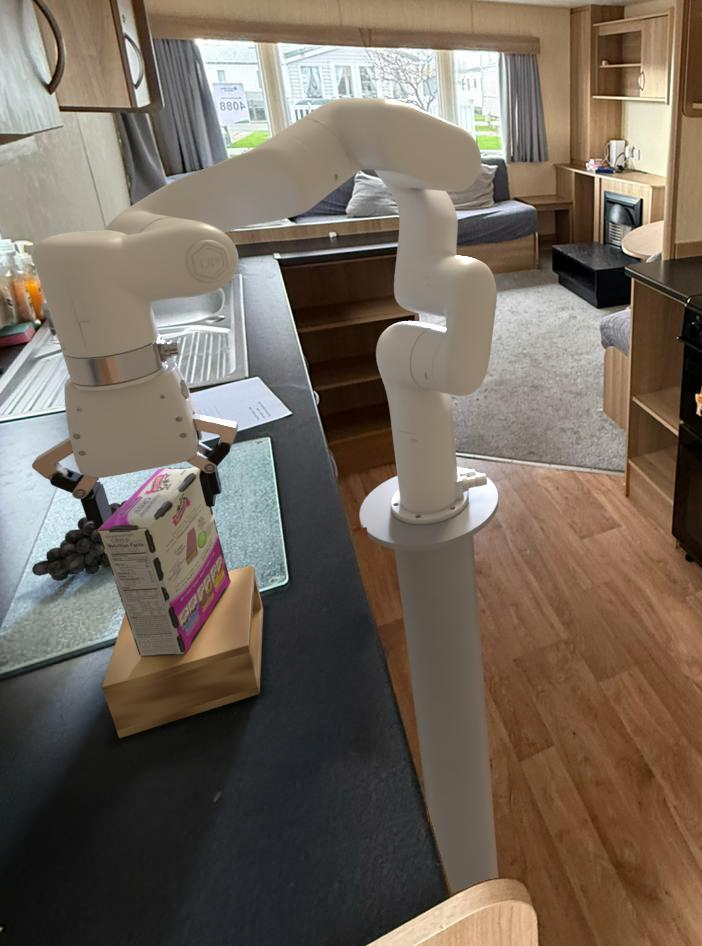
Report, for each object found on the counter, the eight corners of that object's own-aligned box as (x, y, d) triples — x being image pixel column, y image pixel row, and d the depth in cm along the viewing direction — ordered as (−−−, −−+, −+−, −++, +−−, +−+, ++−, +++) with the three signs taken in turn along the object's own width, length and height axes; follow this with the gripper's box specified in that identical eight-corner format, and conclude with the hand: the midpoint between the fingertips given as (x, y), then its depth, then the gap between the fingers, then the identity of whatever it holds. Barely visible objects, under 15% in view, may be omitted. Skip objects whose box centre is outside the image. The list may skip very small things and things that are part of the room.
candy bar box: (188, 585, 78) (157, 466, 72) (232, 582, 78) (205, 464, 73) (134, 660, 67) (93, 528, 62) (185, 657, 68) (149, 525, 62)
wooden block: (263, 609, 84) (253, 564, 81) (259, 694, 72) (248, 645, 69) (144, 641, 79) (130, 595, 76) (119, 738, 67) (101, 687, 64)
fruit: (15, 539, 82) (154, 495, 91) (24, 526, 89) (153, 486, 98) (36, 602, 83) (172, 552, 92) (43, 585, 90) (169, 540, 99)
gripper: (222, 336, 69) (253, 474, 75) (17, 362, 62) (69, 512, 68) (216, 361, 62) (250, 510, 68) (-13, 393, 56) (46, 556, 62)
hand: (159, 511), depth 68 cm, fingers open, 9 cm apart
